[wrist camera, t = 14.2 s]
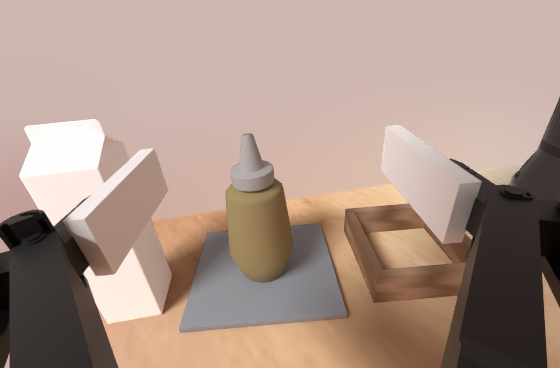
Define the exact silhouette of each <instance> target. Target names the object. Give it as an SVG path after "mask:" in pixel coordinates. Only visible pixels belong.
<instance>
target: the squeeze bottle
mask: <svg viewBox="0 0 560 368" xmlns="http://www.w3.org/2000/svg"><path fill="white" fill-rule="evenodd" d="M230 174H231V180H232V184H231V185H230V186H229V188H228V189H227V190H226V209H227V222H228V235H229V248H230V255H231V257H232V258H233V260H234V261H235V263H236V264H237V265H238V267H239V268H240V270H241V271H242V272H243V274H244V275H245V276H246V277H247V278H248V279H250V280H252V281H255V282H261V283H262V282H268V281H272V280H274V279H276V278H278V277H279V276H280V275H281V274H282V273H283V272H284V271H285V268H286V265H287V263H288V260H289V257H290V255H291V252H292V248H293V245H294V243H293V238H292V233H291V227H290V222H289V216H288V211H287V206H286V200H285V195H284V189H283V186H282V183H280V182H279V181H278V180H276V179H275V178H274V171H273V166H272V164H270V163H269V162H267V161H263V160H262V159H261V156H260V154H259V151H258V148H257V145H256V142H255V139H254V136H253V134H244V135H242V137H241V151H240V163H238V164H236V165H235V166H234V167H232V169H231V170H230Z"/></svg>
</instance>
